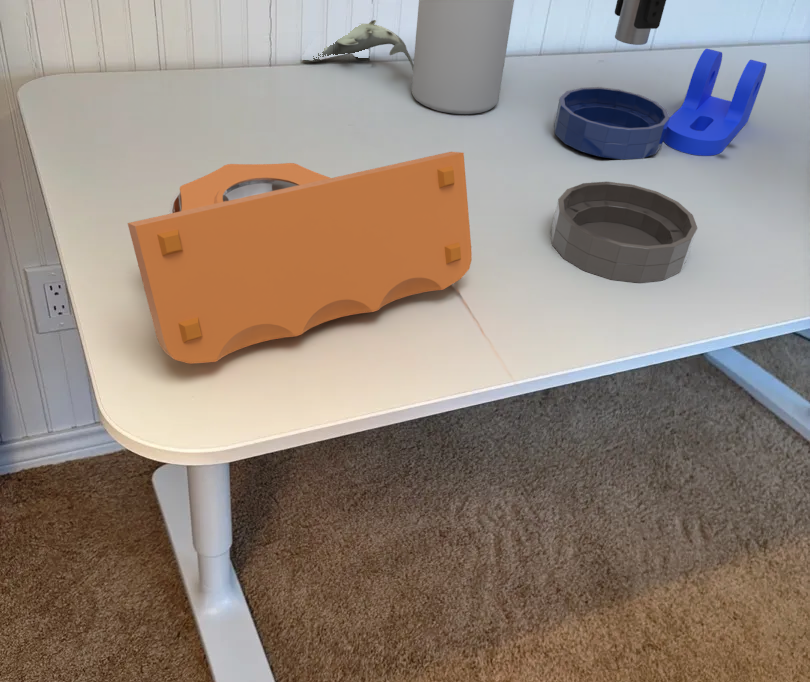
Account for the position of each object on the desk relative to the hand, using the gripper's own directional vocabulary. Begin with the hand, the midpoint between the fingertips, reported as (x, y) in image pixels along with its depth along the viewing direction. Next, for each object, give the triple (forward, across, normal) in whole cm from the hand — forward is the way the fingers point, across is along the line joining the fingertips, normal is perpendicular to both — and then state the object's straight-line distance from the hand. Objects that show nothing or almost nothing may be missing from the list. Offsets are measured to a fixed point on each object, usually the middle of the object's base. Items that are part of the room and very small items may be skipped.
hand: (636, 19), depth 100 cm
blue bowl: (+15, +1, 0) cm, 16 cm away
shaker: (+2, 0, 0) cm, 2 cm away
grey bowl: (+15, -26, +13) cm, 33 cm away
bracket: (+16, +2, -16) cm, 23 cm away
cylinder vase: (+16, +17, +16) cm, 28 cm away
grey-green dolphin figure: (+10, +30, +27) cm, 42 cm away
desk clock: (+8, -35, +46) cm, 58 cm away
